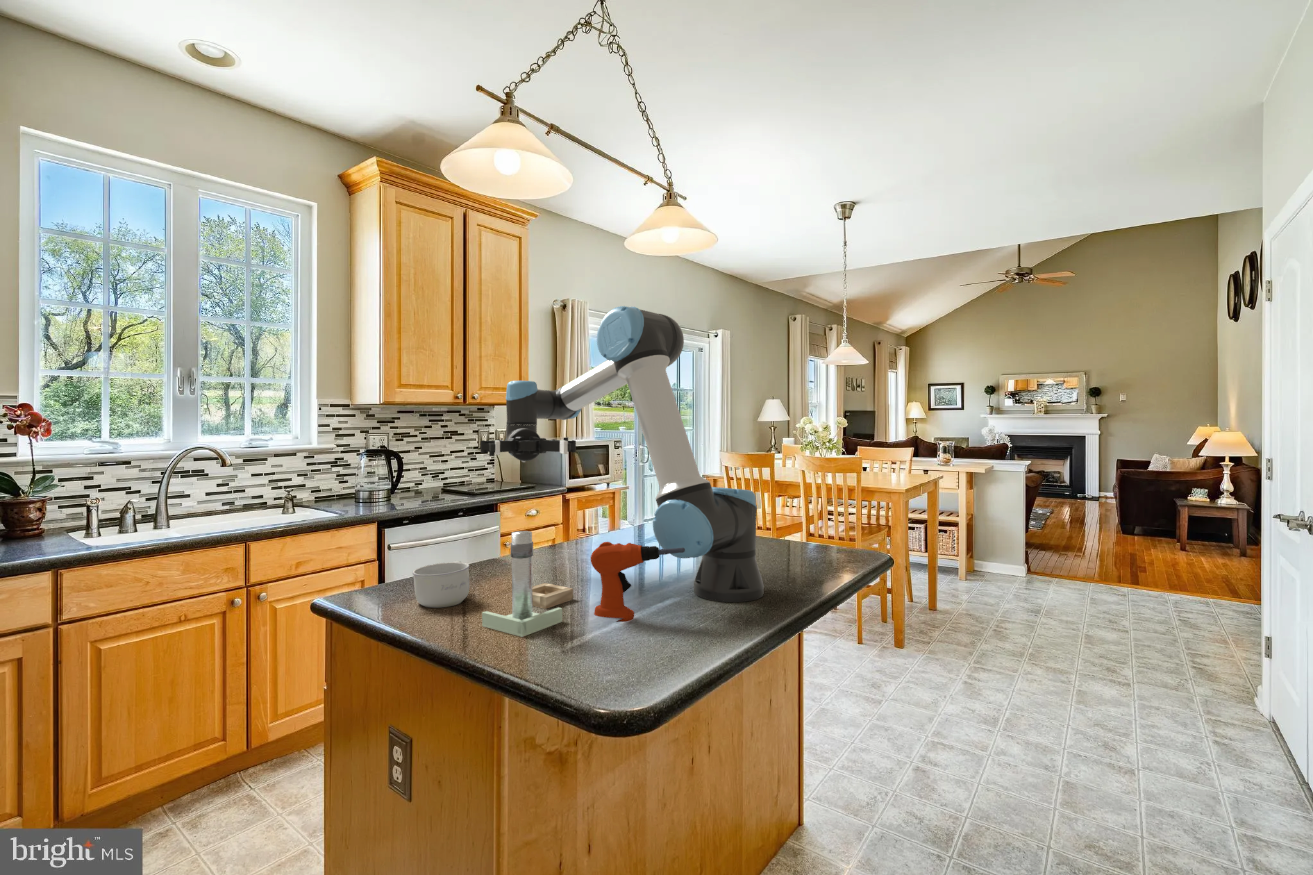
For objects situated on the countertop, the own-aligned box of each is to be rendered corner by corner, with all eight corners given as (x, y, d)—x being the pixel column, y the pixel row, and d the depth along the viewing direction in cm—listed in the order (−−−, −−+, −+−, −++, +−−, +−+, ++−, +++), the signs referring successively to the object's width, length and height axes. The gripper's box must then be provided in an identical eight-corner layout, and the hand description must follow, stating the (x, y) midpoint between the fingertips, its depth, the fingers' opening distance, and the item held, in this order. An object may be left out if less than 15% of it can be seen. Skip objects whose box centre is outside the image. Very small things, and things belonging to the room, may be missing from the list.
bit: (538, 619, 113) (537, 531, 113) (522, 625, 109) (521, 534, 109) (522, 616, 115) (522, 530, 115) (506, 622, 111) (505, 533, 111)
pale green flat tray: (562, 625, 113) (562, 608, 113) (522, 641, 105) (521, 622, 105) (523, 616, 119) (523, 599, 119) (482, 630, 111) (482, 612, 111)
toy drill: (691, 617, 114) (681, 536, 114) (592, 625, 116) (582, 546, 116) (693, 609, 118) (684, 531, 118) (598, 617, 121) (588, 541, 121)
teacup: (446, 616, 119) (446, 574, 118) (400, 610, 122) (400, 570, 122) (488, 597, 132) (488, 559, 132) (446, 592, 135) (446, 556, 135)
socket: (572, 602, 128) (573, 588, 128) (545, 612, 121) (545, 597, 121) (544, 596, 132) (544, 582, 132) (516, 605, 126) (516, 591, 126)
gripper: (576, 459, 150) (592, 465, 130) (469, 461, 143) (468, 467, 123) (576, 428, 150) (592, 429, 130) (469, 428, 143) (468, 429, 123)
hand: (532, 447), depth 126 cm, fingers open, 13 cm apart
